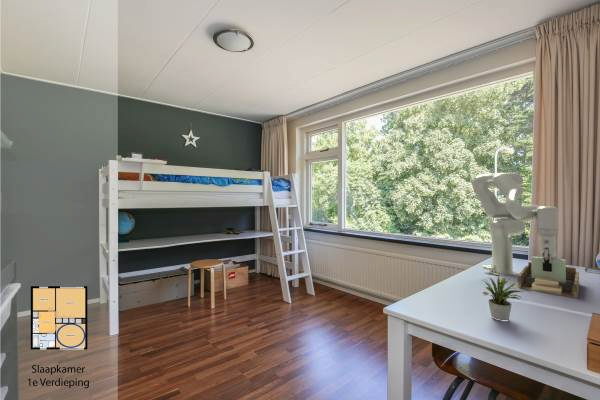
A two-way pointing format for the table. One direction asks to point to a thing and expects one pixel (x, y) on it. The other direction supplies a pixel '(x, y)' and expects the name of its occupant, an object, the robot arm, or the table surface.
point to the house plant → (500, 299)
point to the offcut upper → (547, 282)
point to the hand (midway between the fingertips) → (548, 269)
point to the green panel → (556, 274)
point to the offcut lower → (547, 289)
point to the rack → (567, 288)
